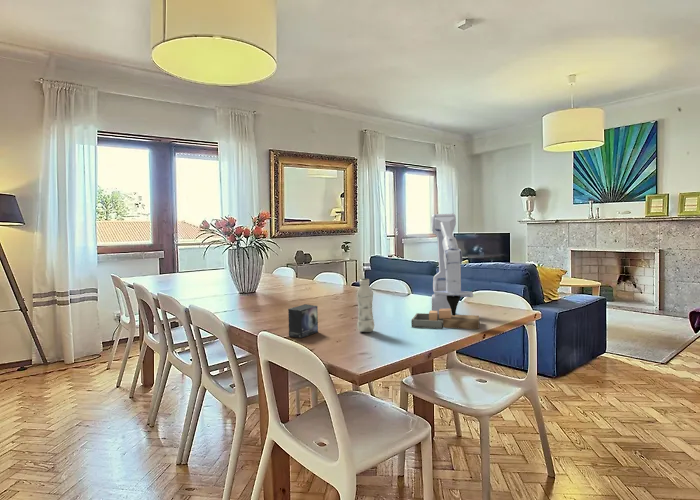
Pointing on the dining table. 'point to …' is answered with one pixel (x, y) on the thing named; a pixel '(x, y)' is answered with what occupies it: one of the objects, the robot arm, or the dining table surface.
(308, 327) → the small box
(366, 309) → the plastic bottle
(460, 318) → the board
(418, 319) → the tray
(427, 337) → the dining table surface
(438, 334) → the dining table surface
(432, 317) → the tan square block
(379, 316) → the dining table surface
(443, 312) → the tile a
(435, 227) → the robot arm
